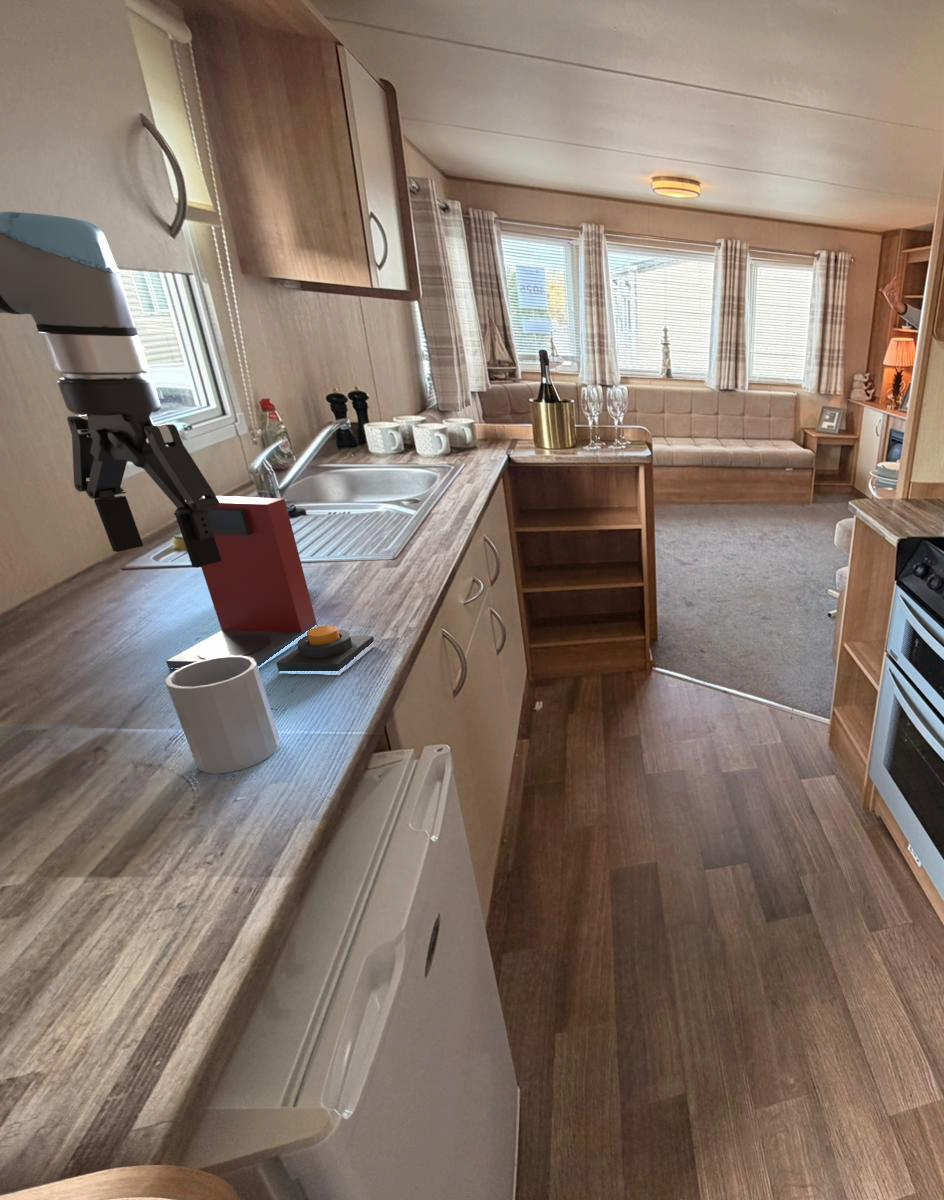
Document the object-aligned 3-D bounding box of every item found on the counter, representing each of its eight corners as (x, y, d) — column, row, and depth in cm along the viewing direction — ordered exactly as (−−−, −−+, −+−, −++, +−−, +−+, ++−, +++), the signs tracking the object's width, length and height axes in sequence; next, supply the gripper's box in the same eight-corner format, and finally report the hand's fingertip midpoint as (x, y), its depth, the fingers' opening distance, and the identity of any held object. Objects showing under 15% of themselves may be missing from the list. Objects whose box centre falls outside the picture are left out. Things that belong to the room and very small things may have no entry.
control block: (340, 676, 100) (334, 653, 98) (279, 675, 99) (272, 652, 97) (375, 647, 109) (371, 626, 107) (320, 646, 108) (315, 624, 107)
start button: (329, 646, 101) (327, 636, 100) (303, 645, 100) (300, 635, 100) (345, 635, 104) (342, 625, 104) (319, 634, 104) (317, 625, 103)
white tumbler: (178, 773, 77) (145, 687, 72) (230, 734, 85) (203, 654, 80) (249, 774, 78) (221, 689, 73) (295, 735, 85) (272, 656, 81)
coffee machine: (257, 671, 100) (211, 523, 90) (168, 669, 99) (113, 519, 89) (318, 630, 113) (284, 498, 104) (241, 628, 112) (200, 495, 103)
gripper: (224, 382, 71) (274, 561, 79) (72, 367, 77) (133, 534, 85) (143, 385, 64) (207, 580, 73) (-16, 368, 70) (59, 550, 78)
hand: (167, 556), depth 79 cm, fingers open, 13 cm apart
